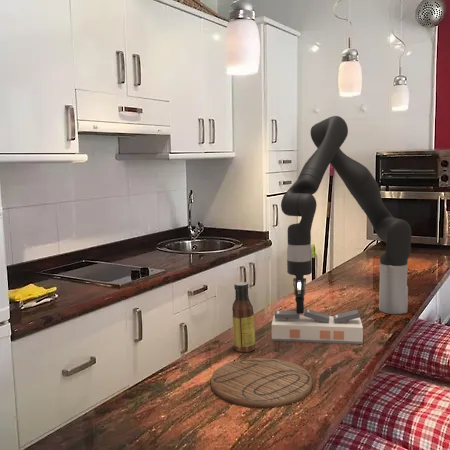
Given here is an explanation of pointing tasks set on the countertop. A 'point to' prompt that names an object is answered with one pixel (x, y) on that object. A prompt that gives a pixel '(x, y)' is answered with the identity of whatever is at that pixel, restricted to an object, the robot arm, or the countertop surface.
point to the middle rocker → (316, 315)
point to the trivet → (261, 382)
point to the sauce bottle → (243, 319)
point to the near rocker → (346, 316)
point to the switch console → (317, 330)
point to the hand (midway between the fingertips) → (300, 312)
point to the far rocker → (286, 315)
